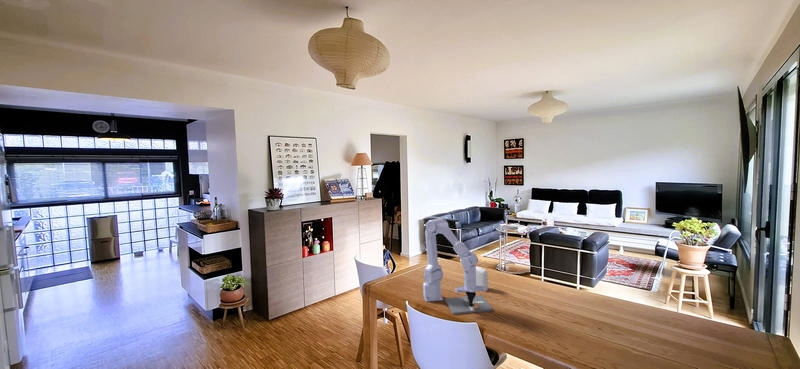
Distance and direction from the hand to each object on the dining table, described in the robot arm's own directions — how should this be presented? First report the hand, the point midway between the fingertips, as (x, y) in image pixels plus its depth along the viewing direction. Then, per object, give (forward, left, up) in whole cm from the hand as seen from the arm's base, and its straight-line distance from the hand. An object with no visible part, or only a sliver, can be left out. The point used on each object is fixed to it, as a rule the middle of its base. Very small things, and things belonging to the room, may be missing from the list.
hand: (470, 305), depth 154 cm
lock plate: (+1, +6, -3) cm, 7 cm away
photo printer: (+14, +26, -3) cm, 30 cm away
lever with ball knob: (+1, +2, 0) cm, 3 cm away
